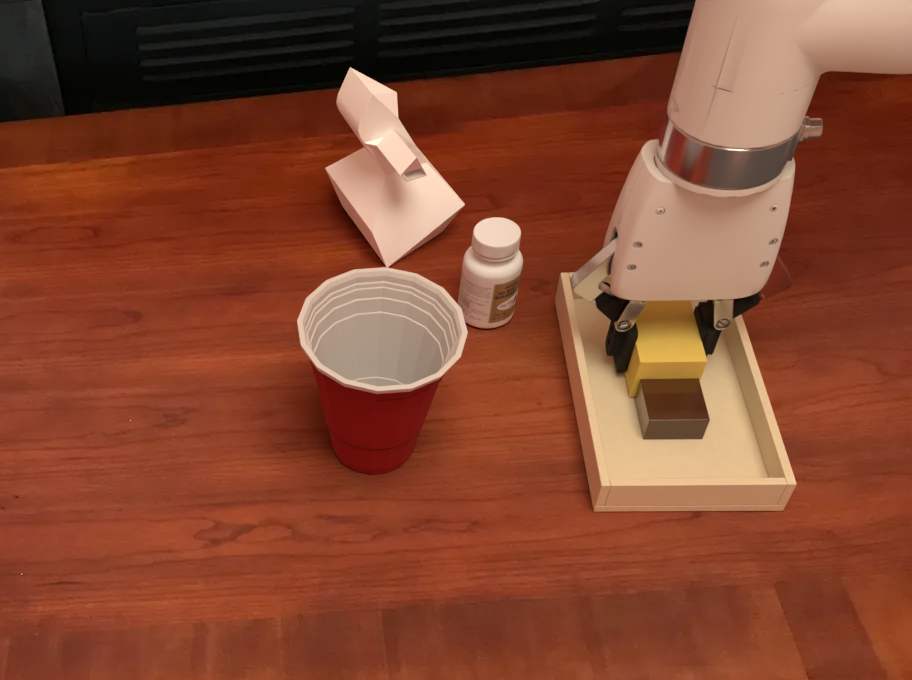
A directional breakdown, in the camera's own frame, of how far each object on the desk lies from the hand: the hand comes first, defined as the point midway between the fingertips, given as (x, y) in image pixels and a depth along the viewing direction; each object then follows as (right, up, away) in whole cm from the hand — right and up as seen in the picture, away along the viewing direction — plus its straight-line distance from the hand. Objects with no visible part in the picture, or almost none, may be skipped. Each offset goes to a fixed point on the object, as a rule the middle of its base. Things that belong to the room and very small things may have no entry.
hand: (655, 357), depth 83 cm
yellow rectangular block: (0, 0, 0) cm, 1 cm away
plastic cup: (-21, -7, -1) cm, 22 cm away
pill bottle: (-11, +4, +6) cm, 13 cm away
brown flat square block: (0, -5, -3) cm, 6 cm away
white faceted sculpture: (-17, +14, +14) cm, 26 cm away
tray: (0, -3, -1) cm, 3 cm away
